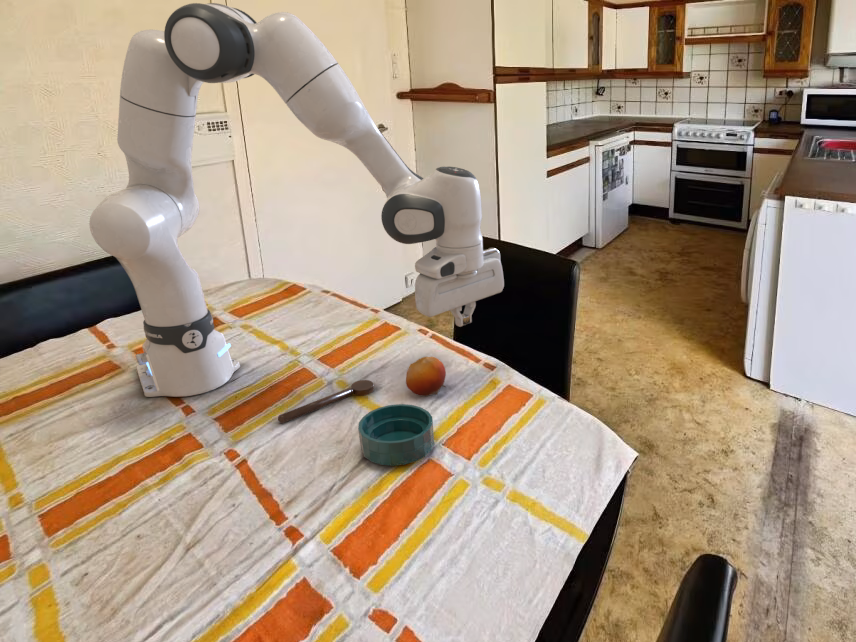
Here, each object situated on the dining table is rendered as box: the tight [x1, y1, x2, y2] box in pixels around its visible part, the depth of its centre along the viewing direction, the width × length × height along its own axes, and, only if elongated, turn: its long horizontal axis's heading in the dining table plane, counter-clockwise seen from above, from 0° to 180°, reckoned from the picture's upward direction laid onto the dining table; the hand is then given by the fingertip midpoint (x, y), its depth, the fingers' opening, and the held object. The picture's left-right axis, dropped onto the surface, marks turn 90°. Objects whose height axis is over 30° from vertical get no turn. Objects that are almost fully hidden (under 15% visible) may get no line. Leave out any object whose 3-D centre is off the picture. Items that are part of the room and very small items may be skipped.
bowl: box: [357, 403, 435, 467], centre depth 105 cm, size 12×12×5 cm
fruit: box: [405, 356, 447, 397], centre depth 122 cm, size 8×8×8 cm
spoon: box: [277, 379, 375, 424], centre depth 119 cm, size 4×20×2 cm, turn 135°
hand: (463, 324), depth 125 cm, fingers closed
